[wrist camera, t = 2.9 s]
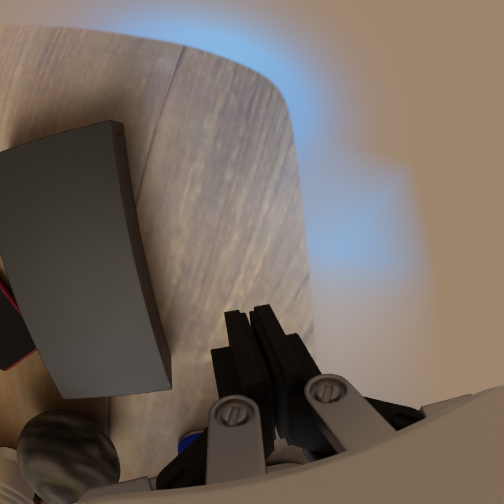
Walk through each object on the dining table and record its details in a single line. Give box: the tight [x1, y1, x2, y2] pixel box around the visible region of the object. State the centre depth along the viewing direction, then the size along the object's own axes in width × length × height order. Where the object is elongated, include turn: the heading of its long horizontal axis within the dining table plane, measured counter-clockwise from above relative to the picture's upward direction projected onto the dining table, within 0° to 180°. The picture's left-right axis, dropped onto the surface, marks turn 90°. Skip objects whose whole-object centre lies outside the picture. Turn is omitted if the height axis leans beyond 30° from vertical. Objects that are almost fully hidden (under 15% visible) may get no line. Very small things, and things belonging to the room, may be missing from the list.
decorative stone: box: [17, 410, 120, 504], centre depth 21 cm, size 10×10×10 cm
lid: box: [0, 120, 172, 399], centre depth 19 cm, size 18×9×4 cm, turn 5°
